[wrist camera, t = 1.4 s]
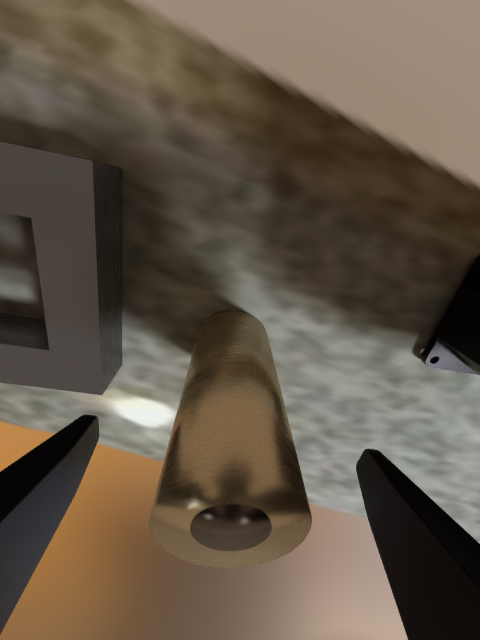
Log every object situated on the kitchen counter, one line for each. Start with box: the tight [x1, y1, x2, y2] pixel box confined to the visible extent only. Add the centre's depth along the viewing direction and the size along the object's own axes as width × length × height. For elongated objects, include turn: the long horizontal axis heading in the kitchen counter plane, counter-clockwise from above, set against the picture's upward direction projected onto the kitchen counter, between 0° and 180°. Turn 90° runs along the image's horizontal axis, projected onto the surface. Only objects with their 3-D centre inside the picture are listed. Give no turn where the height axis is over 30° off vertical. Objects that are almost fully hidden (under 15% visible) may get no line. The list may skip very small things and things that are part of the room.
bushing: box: [149, 310, 312, 568], centre depth 11 cm, size 4×4×9 cm
